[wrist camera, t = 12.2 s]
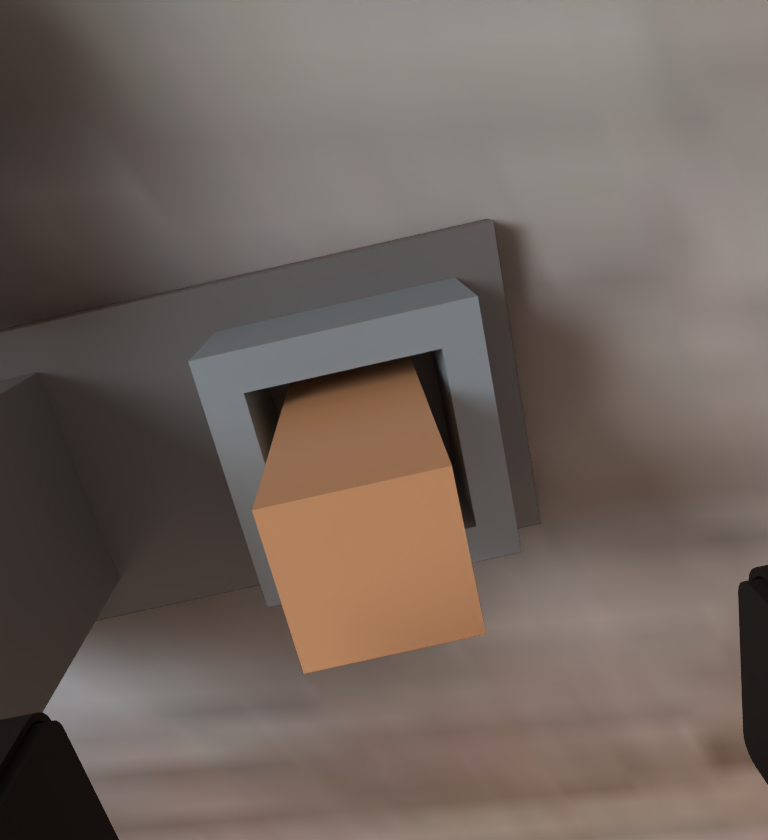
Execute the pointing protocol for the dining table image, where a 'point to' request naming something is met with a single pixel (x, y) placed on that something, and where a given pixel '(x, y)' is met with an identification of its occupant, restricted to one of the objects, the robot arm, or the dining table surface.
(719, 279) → the dining table surface
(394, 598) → the peg
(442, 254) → the socket stand
